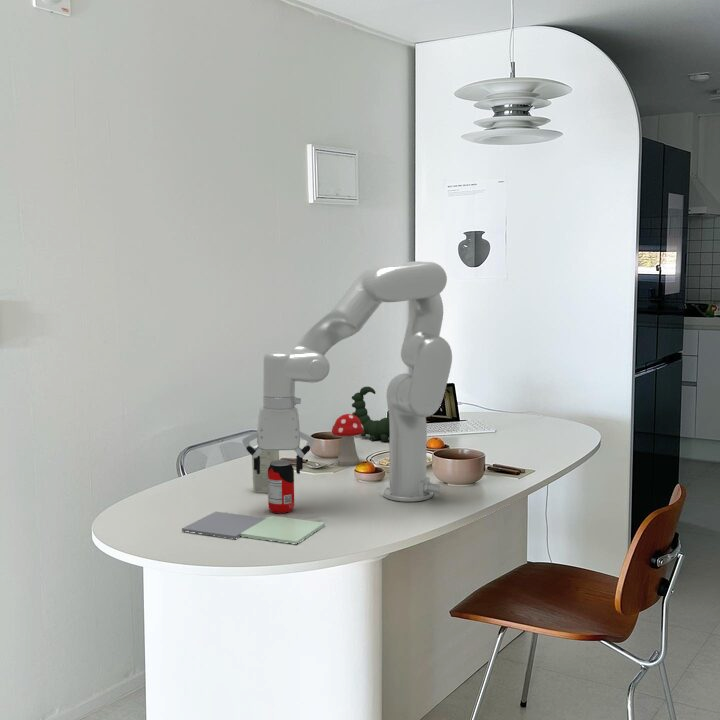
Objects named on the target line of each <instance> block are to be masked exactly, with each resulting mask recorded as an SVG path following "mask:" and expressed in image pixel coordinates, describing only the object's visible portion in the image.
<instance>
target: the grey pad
mask: <svg viewBox="0 0 720 720" xmlns="http://www.w3.org/2000/svg"><path fill="white" fill-rule="evenodd" d="M266 518H267V517H261V516H260V517H259V516H252V515H246V514H237V513H232V512H231V513H230V512H222V511H213V512H212V513H210V514H208V515H206V516H204V517H202V518H200V519H198V520H196V521H193V522H192V523H190V524H188V525H185V526H184V527H182V528H181V532H182V531H189V532H195V533H202V534H207V535H215V536H220V537H226V538H225V539H227V538H233V539H232V540H234V539H236V538H238V537H239V538H241V537H240V533H242V532H244V531H245V530H247V529H249V528H251V527H252V526H254V525H256V524H258V523H259V522H261V521H263V520H265V519H266ZM207 535H206V536H207ZM220 537H219V538H220ZM239 538H238V539H239ZM236 540H237V539H236Z"/></svg>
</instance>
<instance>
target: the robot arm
mask: <svg viewBox="0 0 720 720" xmlns="http://www.w3.org/2000/svg"><path fill="white" fill-rule="evenodd" d="M447 278H448V276H447V273H446V271H445V269H444V268H443V266H441V265H440V264H439V263H436V262H433V261H417V260H415V261H408V262H406V263H404V264H402V265H400V266H399V265H398V266H370V267H367V268H366V269H364V270H363V271H362V272H361V273H360V274H359V275H358V277H357V278H356V279H355V280H354V282H353V283H352V284H351V285H350V287H349V288H348V289H347V290H346V291H345V293H344V294H343V296H342V297H340V299H339V300H338V302H337V303H336V304H335V305H334V307H333V308H332V309H331V310H329V312H327V313H326V314H324V316H323V317H321V319H319V320H318V321H317V322H316V323H315V324H314V325H312V327H310V328H309V329H308V330H307V331H306V332H305V334H303V336H302V337H301V338H300V340H299V341H298V342H297V344H296V345H295V346H294V347H293V349H292V350H291V351H286V350H285V351H282V350H276V351H267V352H266V353H265V354H264V356H263V381H262V382H263V383H262V384H263V387H262V388H263V389H262V390H263V393H262V394H263V395H262V396H263V399H262V402H263V403H262V405H263V406H262V407H260V408H259V412H258V417H257V418H258V419H257V431H255V432H253V433H251V434H249V435H247V436H246V437H245V436H244V437H243V438H242V440H241V442H242V444H243V446H244V447H245V449H246V451H247V452H248V453H249V454H250V455H251V457H252V456H253V457H254V470H257V474H260V456H259V455H260V454H261V452H262V451H263V450H279V451H294V452H295V453H296V456H295V458H296V461H295V464H296V465H295V468H296V469H295V471H296V474H298V475H300V473H301V471H302V470H303V469H304V468H303V467H304V464H303V463H304V457H305V455H306V454H307V453H309V452H310V451H311V448H312V446H313V445H314V443H315V438H314V437H312V436H311V435H308V434H306V433H304V432H303V431H301V430H300V429H301V428H300V419H299V410H298V407H296V406H297V405H298V404H299V405H300V404H301V402H302V399H301V398H300V397H299V398H298V397H296V396H295V395H296V393H295V392H296V382H302V383H310V384H313V383H314V384H315V383H320V382H321V381H323V380H325V379H326V378H327V376H328V375H329V373H330V363H329V360H328V358H327V357H326V354H327V352H328V351H329V350H330V349H331V348H332V347H333V346H335V345H336V344H338V343H339V342H341V341H343V340H345V339H348V338H350V337H353V336H354V335H356V334H357V333H359V332H361V330H362V328H363V327H364V325H365V324H366V323H367V322H368V320H369V319H370V318H371V317H372V316H373V314H374V313H375V312H376V310H377V309H378V308H379V307H380V306H381V304H382V303H398V302H399V303H400V302H407V301H408V304H409V315H408V321H407V325H406V329H405V333H404V338H403V341H402V345H401V349H400V358H401V361H402V363H403V364H404V366H407V367H408V368H410V369H413V371H412V373H406V372H405V373H399V374H397V375H395V376H394V377H393V378H392V379H390V381H389V383H388V386H387V388H386V403H387V410H388V415H389V424H390V438H389V486H387V487H386V488H384V489H383V496H384V497H385V498H386V499H388V500H391V501H395V502H408V503H409V502H411V503H413V502H422V501H425V500H429V499H430V498H431V499H432V497H433V494H441V493H442V490H443V488H442V485H441V484H440V483H434V482H433V483H432V481H431V478H430V477H428V476H427V445H428V444H427V436H428V431H427V430H428V429H427V427H428V426H427V418H428V417H431V416H433V415H434V414H435V413H437V412H438V410H439V408H440V407H441V405H442V402H443V399H444V397H445V392H446V389H447V385H448V380H449V376H450V372H451V368H452V363H453V352H452V349H451V346H450V344H449V342H448V341H447V340H446V339H445V338H443V337H442V336H440V334H441V330H442V325H443V319H444V303H443V300H442V297H441V293H442V292H443V291H444V290H445V288H446V285H447V281H448V279H447ZM301 439H302V440H304V441H306V445H304V447H302V448H301V447H300V442H301ZM254 440H257V441H256V443H257V444H258V447H257V448H256V449H255V450H254V449H253V448H252V447H253V446H252V445H251V444H250V443H251V442H252V441H254ZM257 444H256V445H257Z"/></svg>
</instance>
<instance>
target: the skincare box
mask: <svg viewBox="0 0 720 720" xmlns="http://www.w3.org/2000/svg"><path fill="white" fill-rule="evenodd" d="M251 447H252V448H253V449H254V450H255V449H256V448H257V447H258V444H255V445H253V446H251ZM259 456H260V474H257V470H254V457H253V456H252V455H251V463H252V486H253V487H252V488H253V491H252V492H254V493H260V494H261V493H262V494H263V493H264V494H268V468H269V466H270V462H272V461H276V460H280V450H263V451H262V452H261V454H260V455H259Z"/></svg>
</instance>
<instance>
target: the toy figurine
mask: <svg viewBox="0 0 720 720" xmlns="http://www.w3.org/2000/svg"><path fill="white" fill-rule="evenodd" d="M368 393H372V394H374V395H375V394H376V390H375V389H374V388H373V387H371V386H363V387H362V388H360V391H359V392H356V393H354V395H352V396H351V400H354V402H353V403H352V404H351V408H354V409H355V411H352V413H351V414H352V415H355V416H356V417H358V418H359V420H360V421H361V423H362V425H363V428H364V433H362V434H360V436H361V437H363V438H364V437H366V436H367V435H369V436H370V438H369V439H370V440H371V442H374V441H376V440H378V439H381V440H382V442H387V441H388V440H389V439H390V424H389V414H388V415H387V417H384V418H383V417H382V418H381V419H380V420H373V419H371V416H370V415H368V412H369V411H368V409H367V408H366V401H365V400H364V396H366V395H367V394H368Z"/></svg>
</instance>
